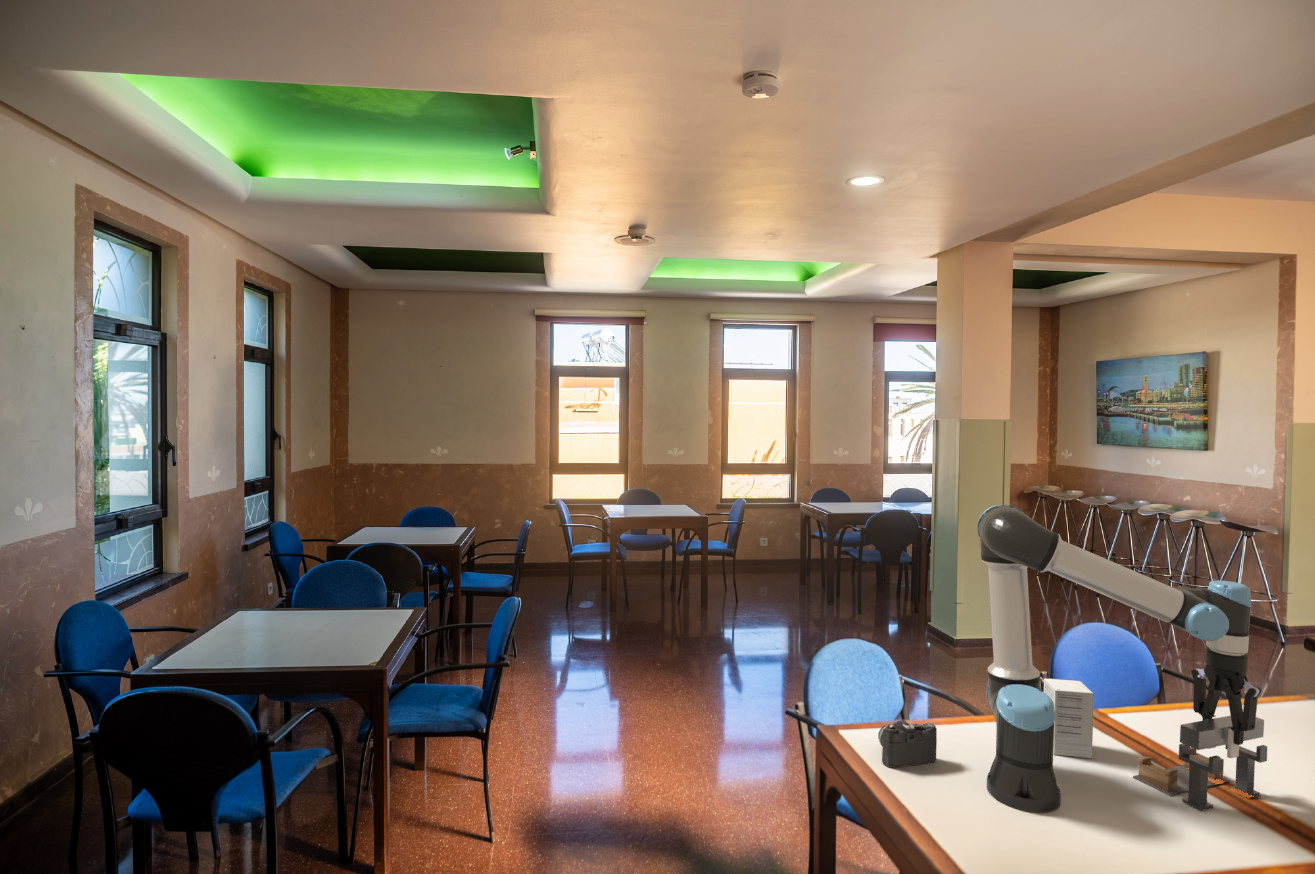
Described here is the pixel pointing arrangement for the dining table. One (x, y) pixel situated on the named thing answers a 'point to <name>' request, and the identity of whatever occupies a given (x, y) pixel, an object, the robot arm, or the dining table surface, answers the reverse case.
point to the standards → (1201, 769)
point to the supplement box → (1071, 717)
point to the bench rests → (1172, 775)
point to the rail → (1214, 732)
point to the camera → (908, 744)
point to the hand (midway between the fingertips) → (1221, 751)
